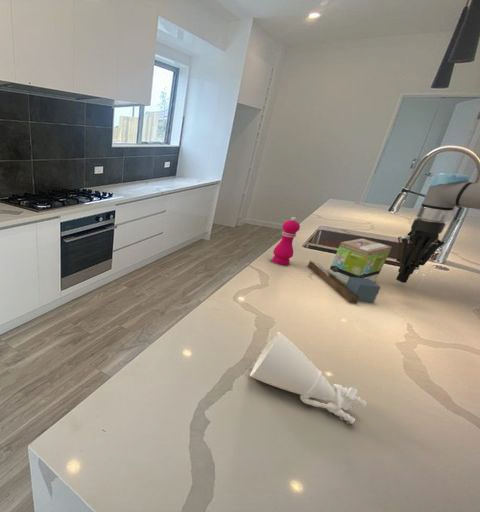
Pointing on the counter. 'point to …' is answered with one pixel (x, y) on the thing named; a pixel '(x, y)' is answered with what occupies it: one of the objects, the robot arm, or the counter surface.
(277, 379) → the rocket engine
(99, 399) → the counter surface
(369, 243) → the tea box
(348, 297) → the brown wooden stick
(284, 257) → the pepper mill
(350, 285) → the blue block
